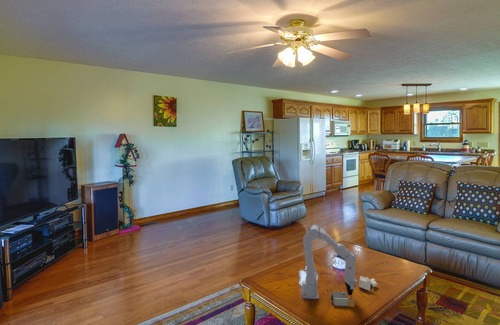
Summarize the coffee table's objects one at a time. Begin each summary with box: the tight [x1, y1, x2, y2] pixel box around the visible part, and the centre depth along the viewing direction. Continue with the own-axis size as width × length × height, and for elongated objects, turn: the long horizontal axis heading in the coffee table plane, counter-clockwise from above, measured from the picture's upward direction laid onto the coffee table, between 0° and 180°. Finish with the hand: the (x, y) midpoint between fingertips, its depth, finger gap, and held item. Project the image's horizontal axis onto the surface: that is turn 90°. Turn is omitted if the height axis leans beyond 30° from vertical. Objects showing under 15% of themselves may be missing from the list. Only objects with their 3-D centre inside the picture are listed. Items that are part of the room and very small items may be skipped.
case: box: [330, 291, 349, 302], centre depth 179 cm, size 9×6×5 cm, turn 84°
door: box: [332, 297, 355, 308], centre depth 175 cm, size 12×1×5 cm, turn 83°
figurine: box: [358, 275, 378, 292], centre depth 196 cm, size 7×9×15 cm
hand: (349, 294), depth 179 cm, fingers closed
